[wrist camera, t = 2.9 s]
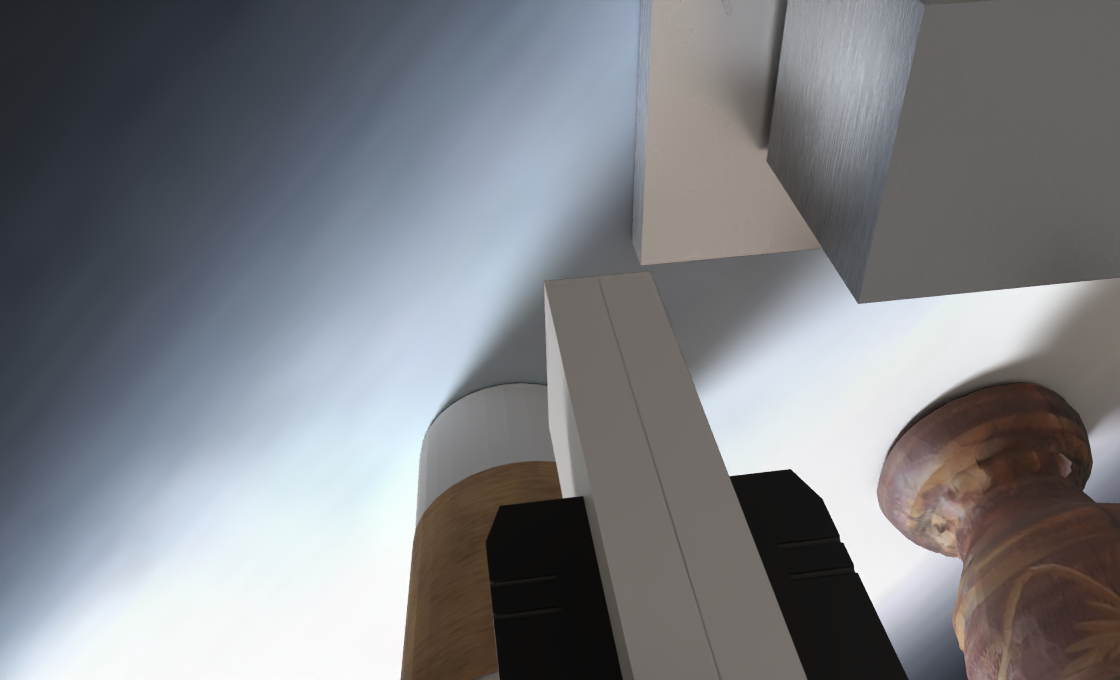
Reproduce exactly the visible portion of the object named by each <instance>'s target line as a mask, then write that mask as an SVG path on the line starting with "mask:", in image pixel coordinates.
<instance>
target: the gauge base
mask: <svg viewBox="0 0 1120 680" xmlns="http://www.w3.org/2000/svg"><path fill="white" fill-rule="evenodd" d="M787 3H788V0H641V13H640V39H639V66H638V93H637V120H636V147H635V173H634V200H633V227H632V243H633V245H634V248H635V251H636V254H637V256H638V259H639V262H640V264H641V265H651V264H662V263H673V262H683V261H694V260H704V259H715V258H726V257H736V256H747V255H757V254H768V253H779V252H789V251H800V250H810V249H821V248H822V247H821V245H820V244H819V242H818V241H817V239H816V238H815V236H814V234H813V233H812V231H811V230H810V228H809V227H808V225H807V224H806V222H805V220H804V219H803V217H802V216H801V214H800V213H799V211H798V210H797V208H796V206H795V205H794V203H793V202H792V200H791V199H790V197H789V196H788V194H787V192H786V191H785V189H784V188H783V186H782V185H781V183H780V182H779V180H778V178H777V177H776V175H775V174H774V172H773V171H772V169H771V168H770V166H769V164H768V163H767V161H766V160H767V153H768V145H769V138H770V130H771V123H772V115H773V108H774V100H775V93H776V85H777V78H778V70H779V63H780V55H781V48H782V40H783V33H784V25H785V18H786V10H787Z"/></svg>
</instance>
